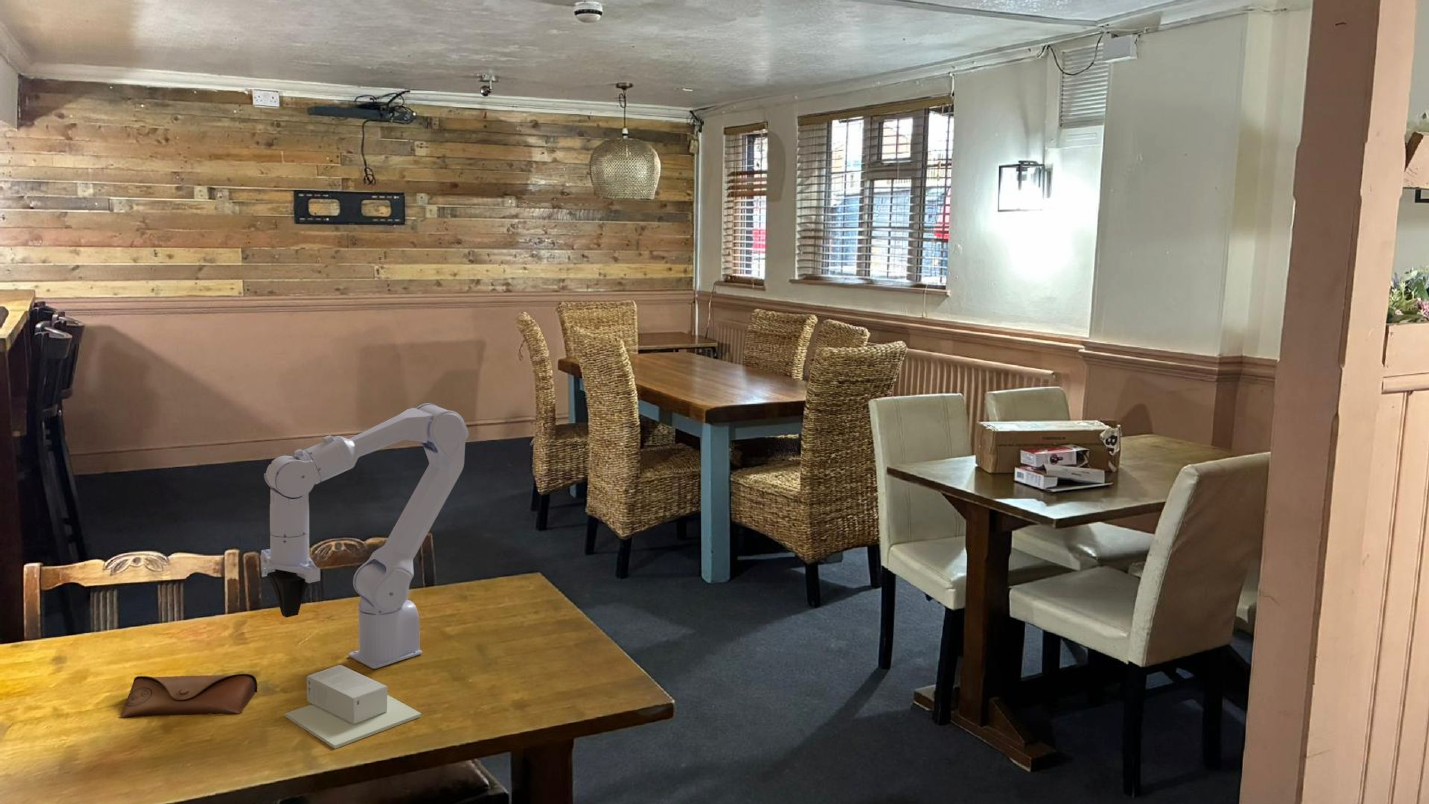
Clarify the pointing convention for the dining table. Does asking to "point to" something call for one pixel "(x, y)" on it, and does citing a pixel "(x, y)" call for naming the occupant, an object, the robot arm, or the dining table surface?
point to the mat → (345, 732)
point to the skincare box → (347, 694)
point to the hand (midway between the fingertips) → (290, 615)
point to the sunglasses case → (189, 695)
